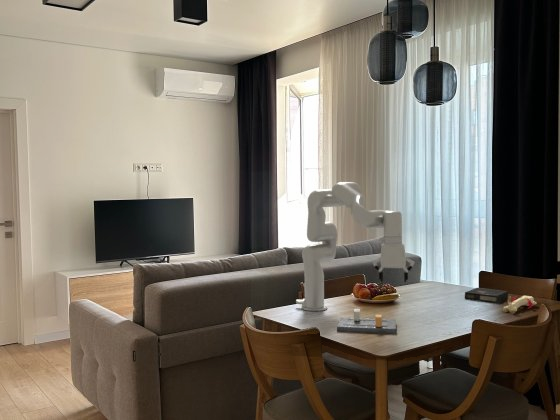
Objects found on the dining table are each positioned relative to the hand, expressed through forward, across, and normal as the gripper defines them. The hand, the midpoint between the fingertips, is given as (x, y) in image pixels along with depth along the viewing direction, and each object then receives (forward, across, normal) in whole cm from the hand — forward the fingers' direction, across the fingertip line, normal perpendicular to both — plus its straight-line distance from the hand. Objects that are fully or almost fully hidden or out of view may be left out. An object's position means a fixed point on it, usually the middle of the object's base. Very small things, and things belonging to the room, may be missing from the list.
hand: (393, 281), depth 233 cm
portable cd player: (+21, +44, +72) cm, 87 cm away
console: (+20, -12, +2) cm, 23 cm away
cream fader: (+18, -16, +6) cm, 25 cm away
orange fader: (+18, -6, -3) cm, 19 cm away
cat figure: (+21, +57, +51) cm, 79 cm away
